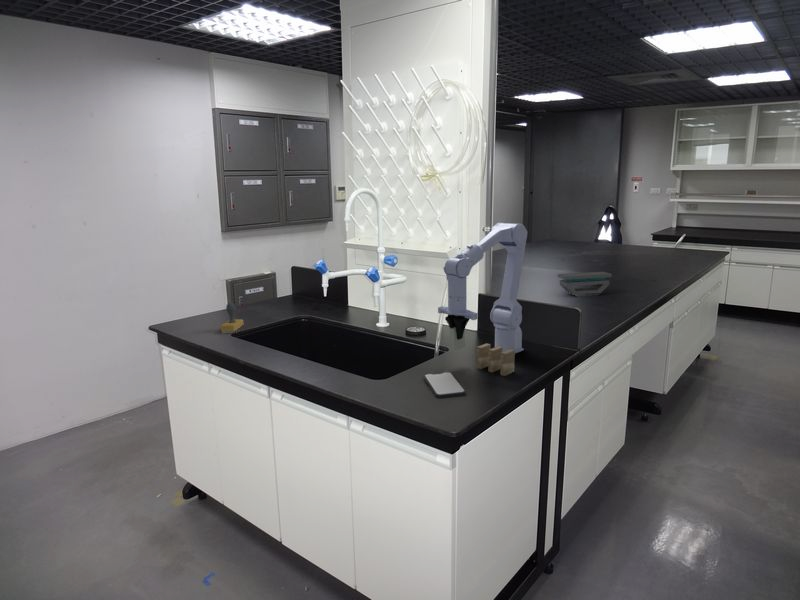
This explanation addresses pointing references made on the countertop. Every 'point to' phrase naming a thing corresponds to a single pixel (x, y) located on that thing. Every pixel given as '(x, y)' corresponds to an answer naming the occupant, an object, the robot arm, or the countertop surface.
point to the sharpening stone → (585, 282)
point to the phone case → (444, 385)
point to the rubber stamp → (231, 320)
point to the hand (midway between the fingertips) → (457, 338)
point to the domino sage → (456, 340)
